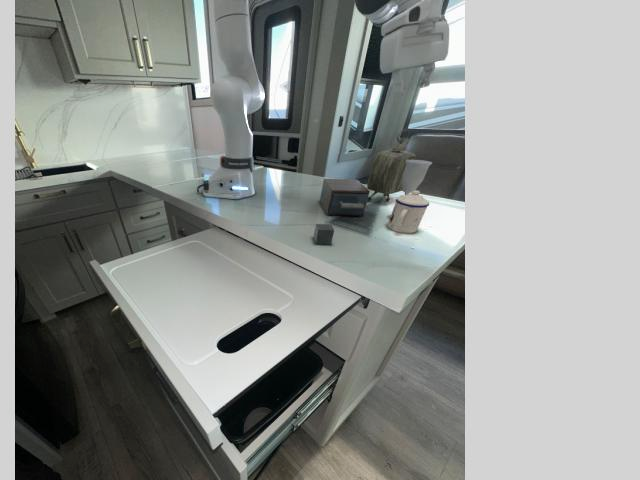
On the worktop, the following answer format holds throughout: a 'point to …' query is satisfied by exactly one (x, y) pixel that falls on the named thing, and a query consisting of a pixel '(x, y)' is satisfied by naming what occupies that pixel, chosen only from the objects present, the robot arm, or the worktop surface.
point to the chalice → (414, 174)
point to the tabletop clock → (389, 169)
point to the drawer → (348, 203)
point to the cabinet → (339, 191)
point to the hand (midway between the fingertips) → (412, 89)
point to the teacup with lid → (408, 212)
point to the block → (323, 234)
